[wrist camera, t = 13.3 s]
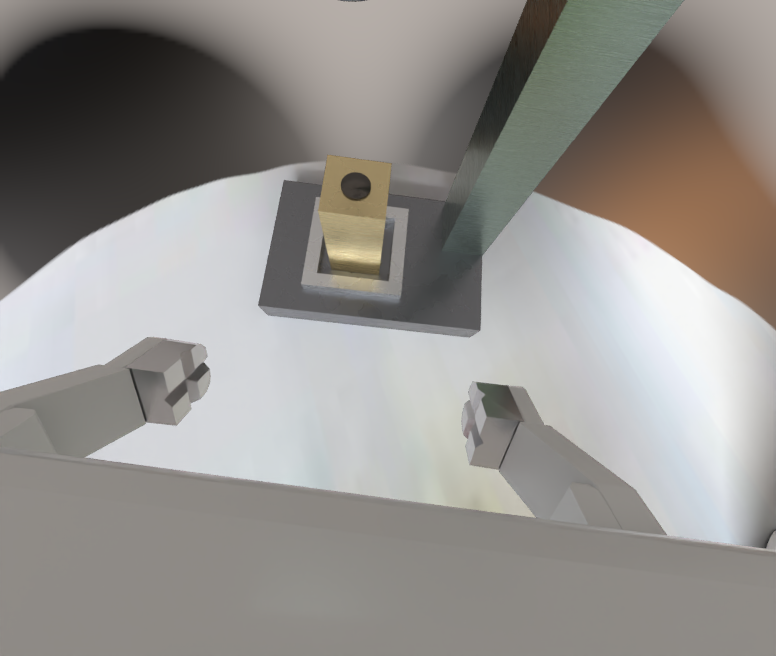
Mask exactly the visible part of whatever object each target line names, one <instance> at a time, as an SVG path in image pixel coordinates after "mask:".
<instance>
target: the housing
mask: <svg viewBox="0 0 776 656" xmlns="http://www.w3.org/2000/svg"><path fill="white" fill-rule="evenodd" d="M391 165H392V163H384V162H377V161H370V160H362V159H355V158H348V157H340V156H333V155H328V156H327V161H326V167H325V173H324V179H323V185H322V191H321V197H320V202H319V208H318V213H319V218H320V222H321V226H322V231H323V235H324V239H325V244H326V248H327V252H328V257H329V261H330V265H331V269H332V270H341V271H349V272H358V273H366V274H375V275H379V270H380V261H381V253H382V245H383V237H384V228H385V220H386V211H387V202H388V192H389V183H390V174H391Z"/></svg>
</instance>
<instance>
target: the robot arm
mask: <svg viewBox="0 0 776 656" xmlns="http://www.w3.org/2000/svg"><path fill="white" fill-rule="evenodd" d="M207 357H208V356H207V352H206V347H205V346H203V345H202V344H198V343H191V342H185V341H179V340H172V339H166V338H158V337H147V338H145V339H144V340H142V341H141V342H139V343H138V344H136V345H135V346H133V347H131V348H130V349H128V350H127V351H125V352H124V353H122V354H121V355H119V356H118V357H116V358H115V359H113V360H111V361H110V362H108V363H107V364H105V365H95V366H92V367H88V368H84V369H81V370H77V371H74V372H70V373H66V374H63V375H59V376H56V377H52V378H49V379H45V380H41V381H38V382H34V383H31V384H27V385H23V386H20V387H16V388H13V389H9V390H6V391H2V392H0V656H776V531H774V533H773V534H772V535H771V537H770V539H769V542H768V544H767V547H766V549H764V548H757V547H749V546H742V545H734V544H727V543H719V542H712V541H704V540H697V539H689V538H682V537H674V536H667V534H666V533H665V531H664V530H663V529H662V527H661V526H660V524H659V523H658V521H657V520H656V519H655V517H654V516H653V514H652V513H651V511H650V510H649V509H648V507H647V506H646V504H645V503H644V501H643V500H642V498H641V497H640V496H639V494H638V493H637V491H636V490H635V489H634V488H633V487H631V486H630V485H628V484H627V483H626V482H624V481H623V480H622V479H620V478H619V477H618V476H616V475H615V474H614V473H612V472H611V471H610V470H608V469H607V468H606V467H604V466H603V465H602V464H600V463H599V462H598V461H596V460H595V459H594V458H592V457H591V456H590V455H588V454H587V453H586V452H584V451H583V450H582V449H580V448H579V447H578V446H576V445H575V444H574V443H572V442H571V441H570V440H568V439H567V438H566V437H564V436H563V435H562V434H560V433H559V432H557V431H556V430H555V429H553V428H552V427H551V426H548V425H544V423H543V421H542V419H541V417H540V416H539V414H538V412H537V410H536V408H535V406H534V404H533V402H532V401H531V399H530V397H529V395H528V393H527V391H526V389H525V388H523V387H519V386H509V385H498V384H489V383H481V382H472V384H471V385H470V388H469V391H468V393H469V397H470V400H469V401H467V402H466V403H465V404H464V408H463V412H462V421H461V422H462V431H463V435H464V436H465V437H466V438H467V439H468V440H467V443H466V451H467V456H468V460H469V465H472V466H479V467H485V468H491V469H497V470H499V472H500V473H501V474H502V476H503V477H504V478H505V479H506V481H507V482H508V483H509V484H510V486H511V487H512V488H513V489H514V491H515V492H516V493H517V494H518V495H519V497H520V498H521V499H522V500H523V502H524V503H525V504H526V505H527V507H528V508H529V509H530V510H531V512H532V513H533V514H534V515H535V517H536V518H532V517H525V516H517V515H510V514H502V513H495V512H487V511H479V510H472V509H464V508H457V507H449V506H441V505H434V504H427V503H419V502H412V501H405V500H397V499H390V498H382V497H375V496H368V495H360V494H353V493H345V492H338V491H331V490H323V489H316V488H308V487H301V486H293V485H286V484H278V483H271V482H263V481H255V480H248V479H240V478H233V477H225V476H218V475H210V474H203V473H195V472H188V471H180V470H173V469H165V468H158V467H150V466H143V465H135V464H128V463H120V462H113V461H106V460H98V459H91V458H84V457H86V456H88V455H90V454H92V453H94V452H95V451H97V450H99V449H101V448H103V447H104V446H106V445H108V444H110V443H112V442H114V441H115V440H117V439H119V438H121V437H123V436H125V435H126V434H128V433H130V432H132V431H134V430H136V429H137V428H139V427H141V426H143V425H145V424H146V422H148V423H157V424H166V425H176V426H177V425H178V424H179V422H180V421H181V420H182V419H183V418H184V417H185V416H186V415H187V414H188V412H189V411H190V410H191V403H193V402H195V401H197V400H199V399H201V398H202V397H203V395H204V394H205V393H206V392H207V389H208V387H209V384H210V377H211V375H210V369H209V368H208V367H207V365H206V364H205V363H204V361H205V360H206V358H207Z"/></svg>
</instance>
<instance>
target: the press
mask: <svg viewBox="0 0 776 656" xmlns="http://www.w3.org/2000/svg"><path fill="white" fill-rule="evenodd" d="M341 1H355V2H356V1H365V0H341ZM683 1H684V0H527V2H526V4H525V7H524V9H523V12H522V14H521V17H520V19H519V22H518V24H517V27H516V29H515V32H514V34H513V36H512V39H511V41H510V44H509V47H508V49H507V51H506V54H505V56H504V59H503V61H502V64H501V66H500V69H499V71H498V74H497V76H496V78H495V81H494V83H493V86H492V89H491V91H490V93H489V96H488V98H487V101H486V103H485V106H484V108H483V111H482V113H481V116H480V118H479V121H478V123H477V125H476V128H475V130H474V133H473V135H472V138H471V140H470V143H469V145H468V148H467V150H466V153H465V155H464V158H463V160H462V163H461V165H460V168H459V170H458V172H457V175H456V177H455V180H454V182H453V185H452V187H451V190H450V192H449V195H448V197H447V200H446V202H445V201H438V200H430V199H423V198H415V197H407V196H400V195H392V194H388V202H387V211H386V220H385V228H384V237H383V245H382V253H381V261H380V270H379V275H375V274H366V273H358V272H349V271H341V270H332V269H331V265H330V261H329V257H328V252H327V248H326V244H325V239H324V235H323V231H322V226H321V222H320V218H319V213H318V208H319V202H320V197H321V191H322V185H317V184H309V183H301V182H294V181H286V180H284V182H283V187H282V192H281V197H280V202H279V207H278V212H277V216H276V221H275V226H274V231H273V236H272V241H271V246H270V250H269V255H268V260H267V265H266V270H265V275H264V280H263V285H262V289H261V294H260V299H259V304H258V306H259V307H260V308H261V309H262V310H263V311H264V312H265V313H266V314H267V315H271V316H280V317H289V318H298V319H307V320H316V321H325V322H334V323H343V324H352V325H361V326H371V327H380V328H389V329H398V330H407V331H416V332H425V333H434V334H443V335H452V336H461V337H471V336H473V335H474V334H476V333H477V332H479V331H480V324H481V280H482V255H483V254H484V253H485V251H486V250H487V249H488V248H489V246H490V245H491V244H492V243H493V241H494V240H495V239H496V238H497V236H498V235H499V234H500V232H501V231H502V230H503V229H504V227H505V226H506V225H507V224H508V222H509V221H510V220H511V219H512V217H513V216H514V215H515V213H516V212H517V211H518V210H519V208H520V207H521V206H522V205H523V203H524V202H525V201H526V200H527V198H528V197H529V196H530V195H531V193H532V192H533V191H534V189H535V188H536V187H537V186H538V184H539V183H540V181H542V179H543V178H544V177H545V175H546V174H547V173H548V172H549V170H550V169H551V168H552V166H553V165H554V164H555V163H556V162H557V160H558V159H559V158H560V156H561V155H562V154H563V153H564V152H565V150H566V149H567V148H568V146H569V145H570V144H571V143H572V141H573V140H574V139H575V138H576V136H577V135H578V134H579V133H580V131H581V130H582V129H583V127H584V126H585V125H586V124H587V122H588V121H589V120H590V119H591V117H592V116H593V115H594V114H595V112H596V111H597V110H598V108H599V107H600V106H601V105H602V103H603V102H604V101H605V100H606V98H607V97H608V96H609V95H610V93H611V92H612V91H613V89H614V88H615V87H616V86H617V84H618V83H619V82H620V81H621V79H622V78H623V77H624V75H625V74H626V73H627V72H628V71H629V69H630V68H631V67H632V65H633V64H634V63H635V62H636V60H637V59H638V58H639V57H640V55H641V54H642V53H643V52H644V50H645V49H646V48H647V47H648V45H649V44H650V43H651V41H652V40H653V39H654V38H655V36H656V35H657V34H658V33H659V31H660V30H661V29H662V28H663V26H664V25H665V24H666V22H667V21H668V20H669V19H670V17H671V16H672V15H673V14H674V12H675V11H676V10H677V9H678V7H679V6H680V5H681V3H682V2H683Z"/></svg>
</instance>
